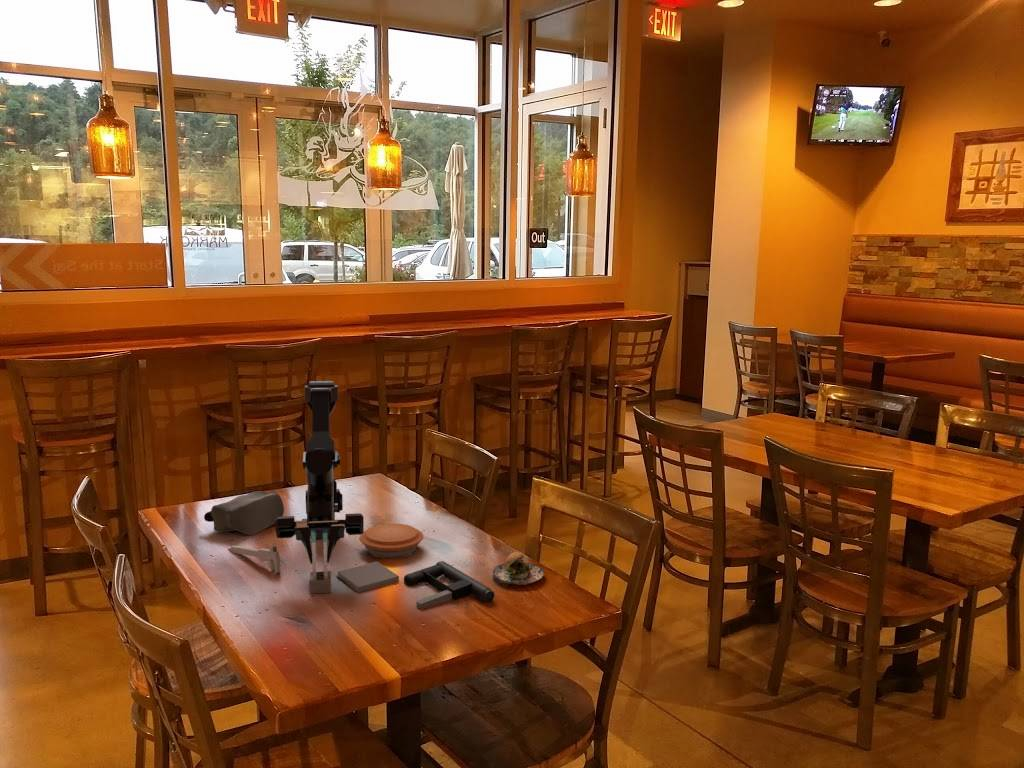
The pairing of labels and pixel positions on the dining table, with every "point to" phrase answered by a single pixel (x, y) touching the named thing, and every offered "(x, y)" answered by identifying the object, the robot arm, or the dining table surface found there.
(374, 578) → the plate
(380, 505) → the dining table surface
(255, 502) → the grey jug on side
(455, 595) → the toy submachine gun
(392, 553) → the pie
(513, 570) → the burger
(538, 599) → the dining table surface
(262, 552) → the caliper
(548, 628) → the dining table surface
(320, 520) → the robot arm
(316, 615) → the dining table surface
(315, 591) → the block with twin posts
